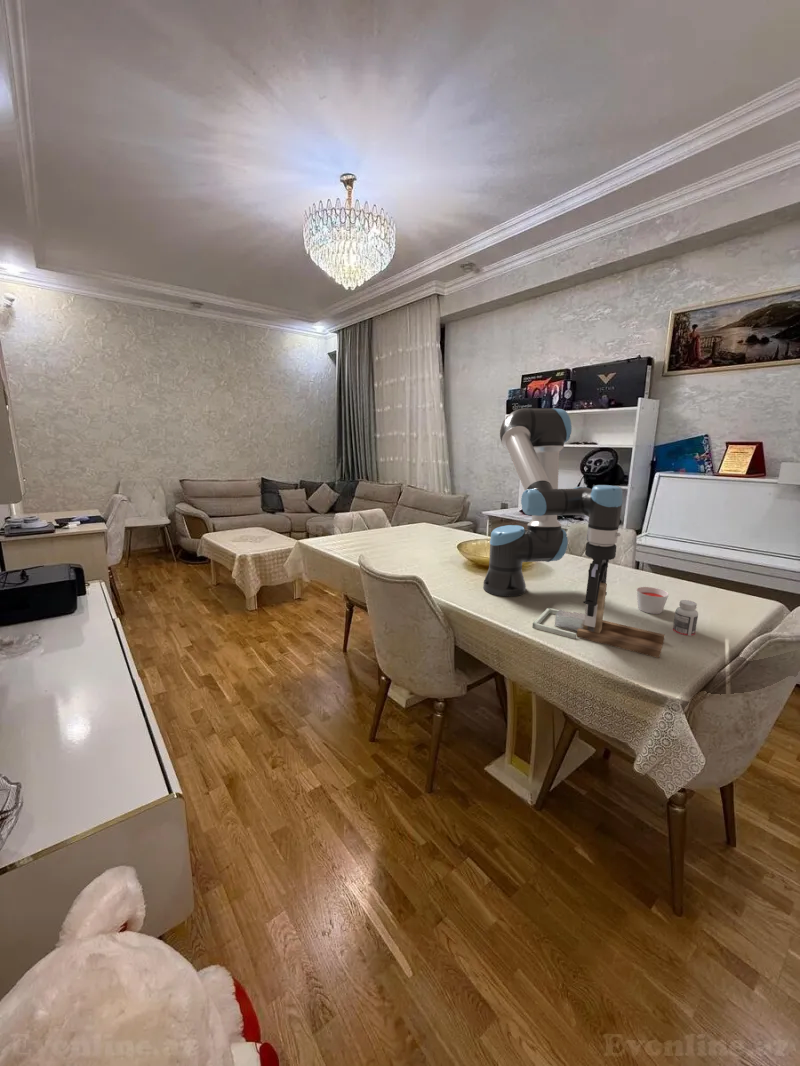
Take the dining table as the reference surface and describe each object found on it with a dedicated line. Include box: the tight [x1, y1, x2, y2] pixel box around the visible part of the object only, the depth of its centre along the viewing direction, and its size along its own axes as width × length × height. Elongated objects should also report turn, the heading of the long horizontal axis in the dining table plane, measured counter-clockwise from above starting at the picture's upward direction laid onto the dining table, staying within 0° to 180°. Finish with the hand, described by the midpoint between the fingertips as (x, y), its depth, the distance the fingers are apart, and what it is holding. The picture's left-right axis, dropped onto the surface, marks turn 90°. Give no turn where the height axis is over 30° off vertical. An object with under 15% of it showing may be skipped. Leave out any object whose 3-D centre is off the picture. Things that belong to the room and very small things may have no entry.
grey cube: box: [554, 609, 573, 630], centre depth 127 cm, size 4×4×4 cm
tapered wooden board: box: [584, 582, 608, 633], centre depth 121 cm, size 4×7×14 cm, turn 144°
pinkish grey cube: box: [568, 611, 585, 632], centre depth 125 cm, size 4×4×4 cm
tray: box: [531, 607, 577, 640], centre depth 128 cm, size 12×14×2 cm
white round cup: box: [636, 586, 670, 615], centre depth 139 cm, size 9×9×6 cm
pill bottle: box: [672, 599, 699, 636], centre depth 122 cm, size 5×5×10 cm
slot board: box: [576, 619, 665, 659], centre depth 119 cm, size 20×11×3 cm, turn 54°
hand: (592, 620), depth 122 cm, fingers closed on tapered wooden board, 7 cm apart
